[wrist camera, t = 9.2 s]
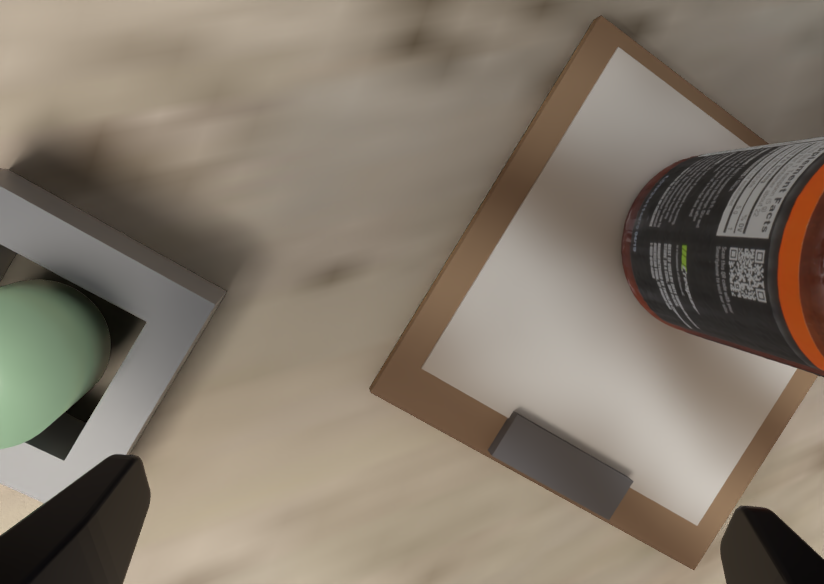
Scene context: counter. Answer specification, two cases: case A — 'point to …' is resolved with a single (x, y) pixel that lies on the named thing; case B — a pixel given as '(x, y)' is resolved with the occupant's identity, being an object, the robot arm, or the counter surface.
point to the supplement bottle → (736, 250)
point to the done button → (46, 355)
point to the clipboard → (593, 319)
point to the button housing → (122, 286)
